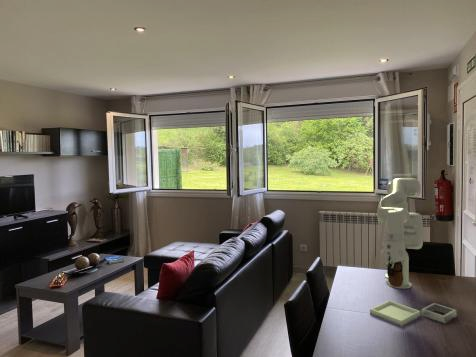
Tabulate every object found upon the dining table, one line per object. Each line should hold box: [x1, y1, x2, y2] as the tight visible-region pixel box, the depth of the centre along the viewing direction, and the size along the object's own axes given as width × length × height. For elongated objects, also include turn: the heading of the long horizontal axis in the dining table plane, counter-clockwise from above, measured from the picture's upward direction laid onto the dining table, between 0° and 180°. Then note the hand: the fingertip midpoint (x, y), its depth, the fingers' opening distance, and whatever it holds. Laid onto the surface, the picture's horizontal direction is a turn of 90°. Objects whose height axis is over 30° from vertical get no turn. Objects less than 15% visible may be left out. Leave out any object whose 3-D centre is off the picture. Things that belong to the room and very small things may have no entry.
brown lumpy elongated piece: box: [387, 261, 403, 288], centre depth 170 cm, size 7×6×15 cm
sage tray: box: [369, 300, 421, 327], centre depth 172 cm, size 16×16×2 cm
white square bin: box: [420, 302, 457, 324], centre depth 170 cm, size 10×11×3 cm
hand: (394, 273), depth 171 cm, fingers closed on brown lumpy elongated piece, 6 cm apart
